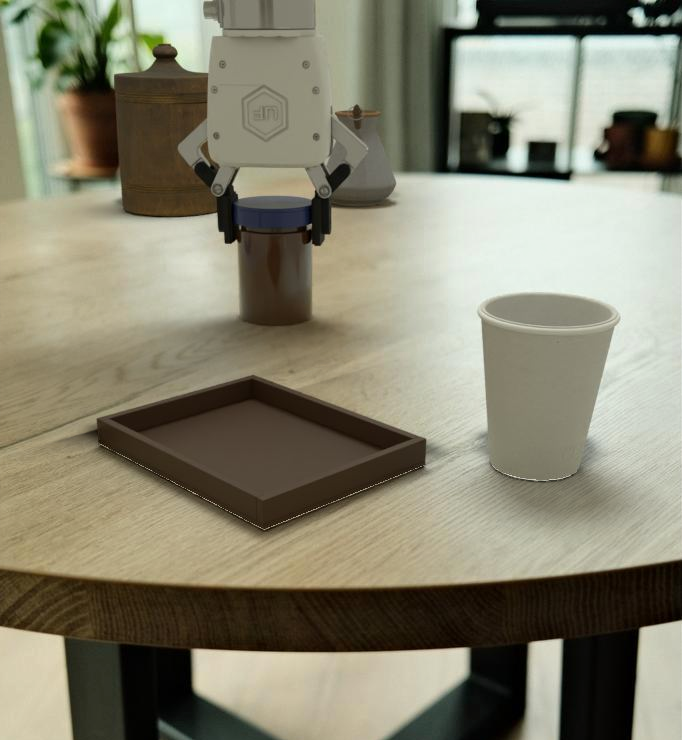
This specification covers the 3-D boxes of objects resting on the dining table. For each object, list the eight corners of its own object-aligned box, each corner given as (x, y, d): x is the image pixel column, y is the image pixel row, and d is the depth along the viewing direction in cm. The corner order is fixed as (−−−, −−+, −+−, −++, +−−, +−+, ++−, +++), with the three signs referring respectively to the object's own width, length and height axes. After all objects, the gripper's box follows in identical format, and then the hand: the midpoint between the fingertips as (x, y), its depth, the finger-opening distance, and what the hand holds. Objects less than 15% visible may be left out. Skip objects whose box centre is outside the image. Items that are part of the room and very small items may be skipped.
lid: (299, 230, 84) (298, 211, 84) (220, 225, 86) (219, 206, 85) (325, 216, 90) (325, 197, 90) (251, 212, 92) (250, 193, 92)
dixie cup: (441, 459, 65) (448, 306, 61) (527, 429, 70) (540, 284, 66) (541, 503, 59) (558, 336, 55) (628, 467, 64) (650, 311, 60)
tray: (98, 444, 67) (95, 418, 67) (254, 398, 76) (253, 374, 75) (264, 531, 56) (263, 500, 55) (425, 466, 64) (426, 438, 63)
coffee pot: (322, 195, 160) (321, 93, 153) (395, 196, 159) (398, 93, 153) (313, 220, 141) (312, 104, 134) (396, 221, 140) (399, 104, 134)
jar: (225, 327, 93) (220, 209, 88) (280, 314, 97) (278, 201, 92) (271, 342, 88) (269, 220, 84) (327, 328, 92) (327, 211, 88)
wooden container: (244, 209, 148) (238, 43, 139) (154, 220, 140) (141, 45, 131) (191, 196, 159) (182, 41, 149) (105, 206, 151) (89, 43, 141)
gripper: (149, 17, 79) (167, 248, 87) (372, 16, 77) (369, 253, 85) (175, 16, 86) (189, 231, 93) (380, 16, 84) (377, 236, 92)
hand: (275, 240), depth 89 cm, fingers closed on lid, 7 cm apart
